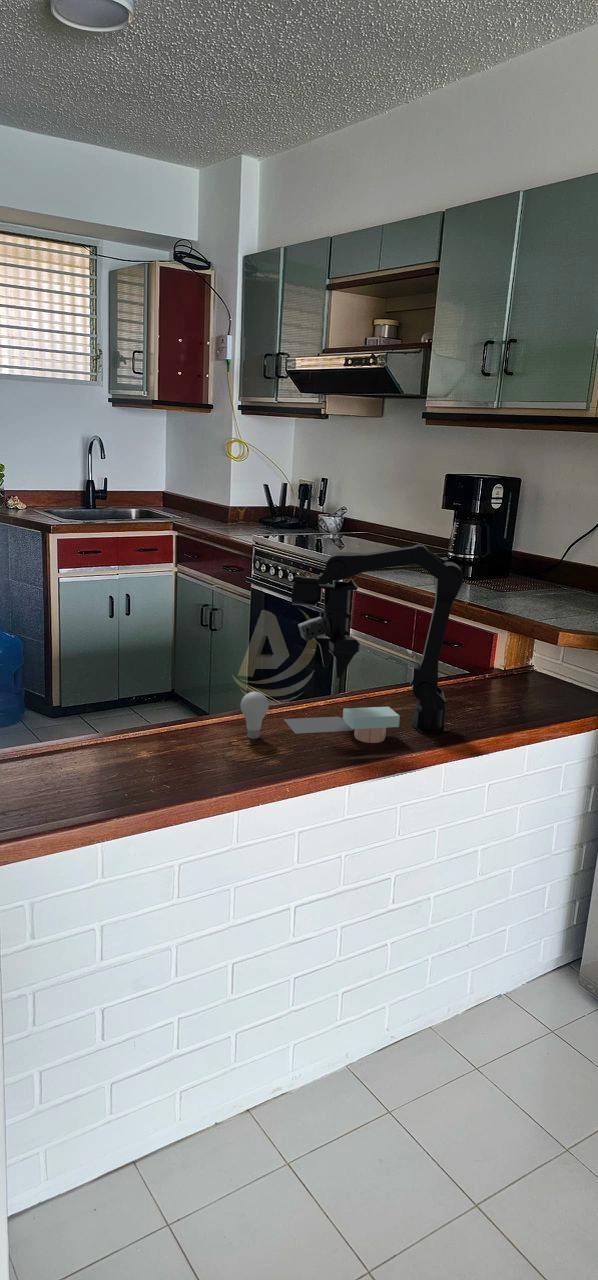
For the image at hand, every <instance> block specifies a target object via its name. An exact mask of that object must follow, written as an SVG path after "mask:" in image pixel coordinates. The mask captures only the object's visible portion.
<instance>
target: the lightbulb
mask: <svg viewBox="0 0 598 1280" xmlns="http://www.w3.org/2000/svg"><path fill="white" fill-rule="evenodd" d="M269 707H270V706H269V701H268V698H267V697H266V696H265V694H263V693H261V692H259V691H251V692H248V693H246V694H244V696H243V697H242V699H241V701H240V710H241V712H242V715H243V716H244V719H245V723H246V729H247V737H248V739H251V740H256V739H259V738H260V730H261V728H262V722H263V719H264V718H265V716H266V714H267V713H268V710H269Z"/></svg>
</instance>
